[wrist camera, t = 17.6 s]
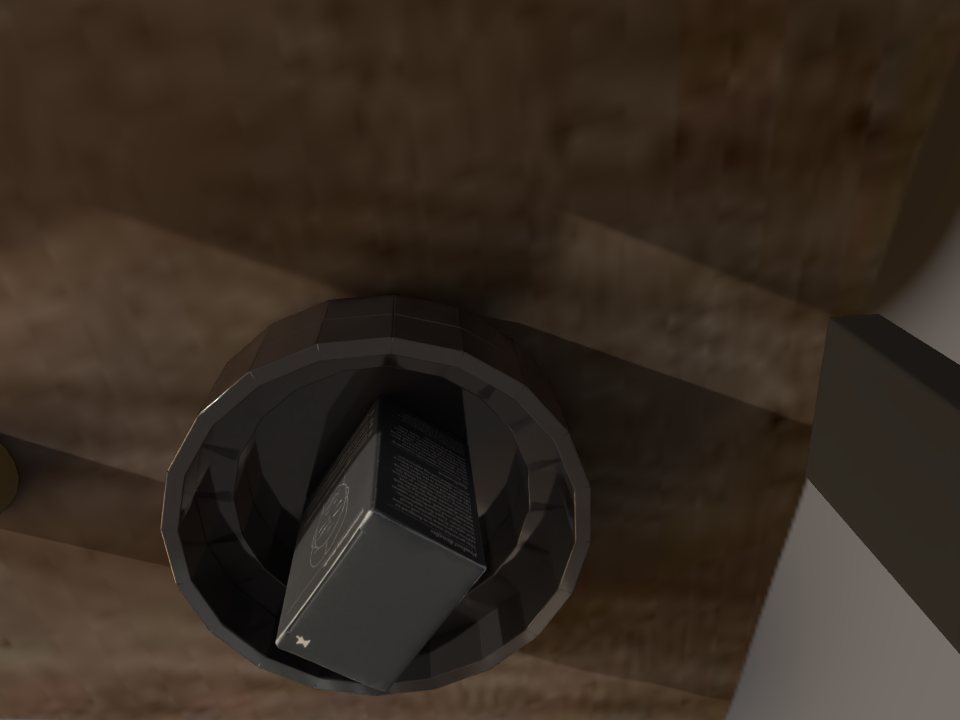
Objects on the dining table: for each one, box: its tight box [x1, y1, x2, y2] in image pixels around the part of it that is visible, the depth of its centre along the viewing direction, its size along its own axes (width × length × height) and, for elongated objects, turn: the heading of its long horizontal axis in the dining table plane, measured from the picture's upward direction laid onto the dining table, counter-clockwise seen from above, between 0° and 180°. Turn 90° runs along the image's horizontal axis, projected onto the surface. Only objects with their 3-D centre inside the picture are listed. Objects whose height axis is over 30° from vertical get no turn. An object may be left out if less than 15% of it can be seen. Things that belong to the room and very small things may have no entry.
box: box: [275, 396, 486, 692], centre depth 36 cm, size 8×6×11 cm
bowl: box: [160, 294, 591, 696], centre depth 39 cm, size 20×20×6 cm
